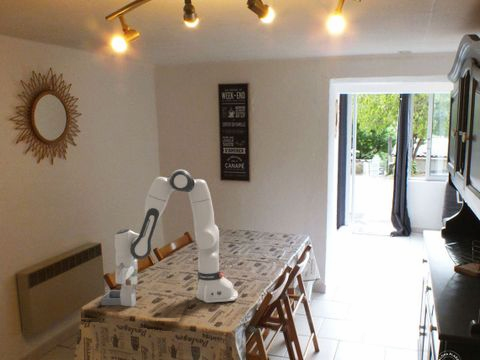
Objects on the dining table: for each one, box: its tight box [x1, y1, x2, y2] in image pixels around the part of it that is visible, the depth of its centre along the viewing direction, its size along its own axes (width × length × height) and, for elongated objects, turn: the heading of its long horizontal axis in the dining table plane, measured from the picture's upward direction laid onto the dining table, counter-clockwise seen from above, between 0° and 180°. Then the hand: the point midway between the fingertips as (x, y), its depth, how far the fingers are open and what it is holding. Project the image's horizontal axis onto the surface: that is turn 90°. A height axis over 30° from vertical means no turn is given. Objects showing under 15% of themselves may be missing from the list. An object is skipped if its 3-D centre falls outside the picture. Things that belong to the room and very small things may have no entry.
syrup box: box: [130, 259, 139, 286], centre depth 246 cm, size 6×6×14 cm
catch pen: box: [100, 289, 122, 306], centre depth 221 cm, size 10×12×4 cm
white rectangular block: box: [119, 284, 137, 308], centre depth 216 cm, size 4×7×10 cm, turn 71°
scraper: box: [125, 279, 131, 286], centre depth 221 cm, size 3×7×10 cm, turn 26°
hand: (125, 286), depth 221 cm, fingers closed on scraper, 4 cm apart
